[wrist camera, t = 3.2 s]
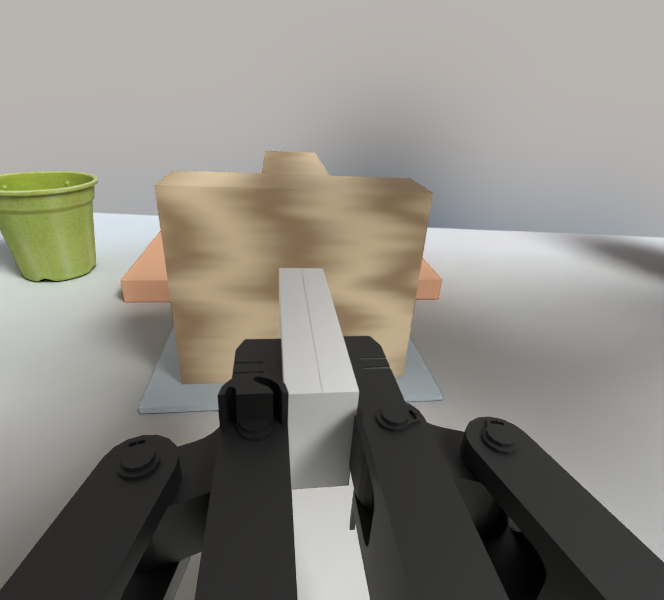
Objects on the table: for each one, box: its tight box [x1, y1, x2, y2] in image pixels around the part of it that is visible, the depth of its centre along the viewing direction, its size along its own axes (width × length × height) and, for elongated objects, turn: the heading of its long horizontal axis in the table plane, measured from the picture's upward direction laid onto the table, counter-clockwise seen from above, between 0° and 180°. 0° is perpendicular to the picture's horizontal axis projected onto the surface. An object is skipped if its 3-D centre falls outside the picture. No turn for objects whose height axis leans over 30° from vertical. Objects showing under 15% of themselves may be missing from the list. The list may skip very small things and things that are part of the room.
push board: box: [121, 231, 443, 414], centre depth 38 cm, size 28×32×2 cm
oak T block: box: [155, 151, 433, 384], centre depth 30 cm, size 14×14×12 cm
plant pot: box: [0, 171, 98, 281], centre depth 38 cm, size 9×9×9 cm
